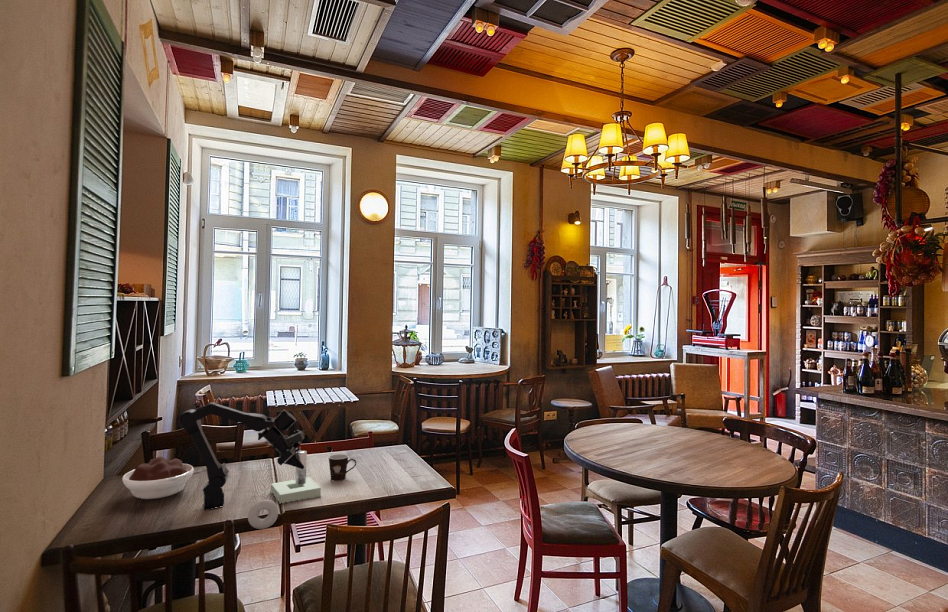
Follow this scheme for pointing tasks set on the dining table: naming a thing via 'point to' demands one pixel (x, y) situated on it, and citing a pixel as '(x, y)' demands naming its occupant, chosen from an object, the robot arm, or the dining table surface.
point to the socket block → (295, 490)
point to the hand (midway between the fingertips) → (304, 466)
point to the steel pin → (301, 472)
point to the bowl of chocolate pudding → (158, 478)
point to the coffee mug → (339, 466)
